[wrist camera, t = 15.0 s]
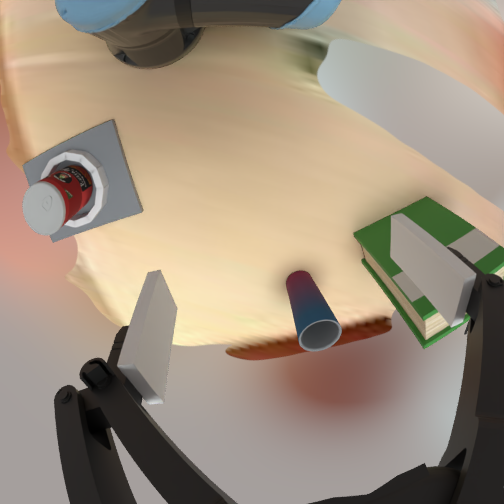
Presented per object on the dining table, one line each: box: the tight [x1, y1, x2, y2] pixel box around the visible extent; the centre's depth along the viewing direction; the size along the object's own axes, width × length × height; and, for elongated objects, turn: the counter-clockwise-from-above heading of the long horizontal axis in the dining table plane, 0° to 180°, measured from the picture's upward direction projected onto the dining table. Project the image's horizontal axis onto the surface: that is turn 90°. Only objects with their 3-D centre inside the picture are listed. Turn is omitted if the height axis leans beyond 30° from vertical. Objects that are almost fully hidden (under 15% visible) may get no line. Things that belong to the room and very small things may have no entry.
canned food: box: [22, 165, 93, 235], centre depth 36 cm, size 8×8×11 cm
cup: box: [286, 271, 342, 351], centre depth 49 cm, size 7×7×15 cm
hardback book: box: [353, 197, 504, 349], centre depth 42 cm, size 18×7×24 cm, turn 116°
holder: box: [23, 120, 143, 242], centre depth 40 cm, size 16×20×4 cm
